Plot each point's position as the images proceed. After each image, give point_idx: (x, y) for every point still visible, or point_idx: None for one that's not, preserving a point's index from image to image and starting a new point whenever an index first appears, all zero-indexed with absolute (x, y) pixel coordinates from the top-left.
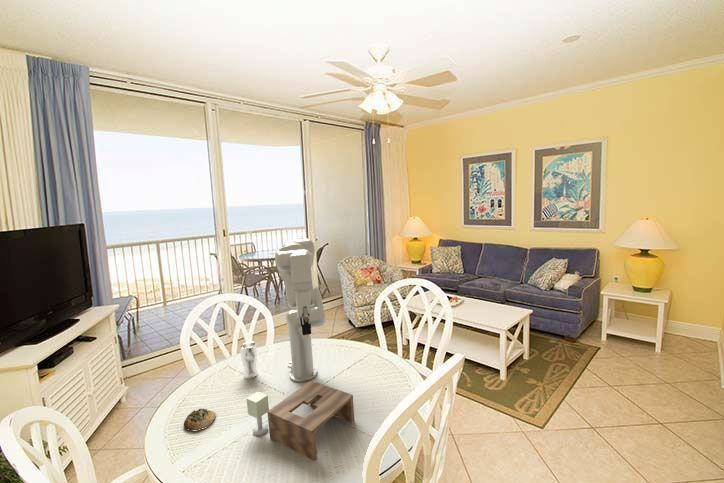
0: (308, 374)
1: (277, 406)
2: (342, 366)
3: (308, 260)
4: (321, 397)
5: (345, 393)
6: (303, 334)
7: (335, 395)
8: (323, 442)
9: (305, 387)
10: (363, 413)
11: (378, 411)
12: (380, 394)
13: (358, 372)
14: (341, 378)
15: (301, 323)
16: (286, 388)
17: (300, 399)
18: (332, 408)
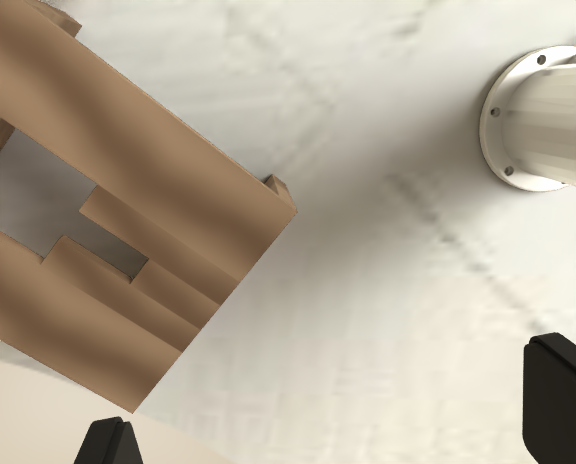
0: (512, 154)
1: (46, 40)
2: (557, 302)
3: None
4: (139, 271)
5: (146, 383)
6: (95, 435)
7: (133, 340)
8: (37, 239)
9: (229, 186)
10: (195, 375)
11: (200, 422)
12: (303, 434)
13: (483, 366)
14: (456, 298)
15: (554, 371)
16: (444, 42)
17: (111, 169)
18: (22, 331)
